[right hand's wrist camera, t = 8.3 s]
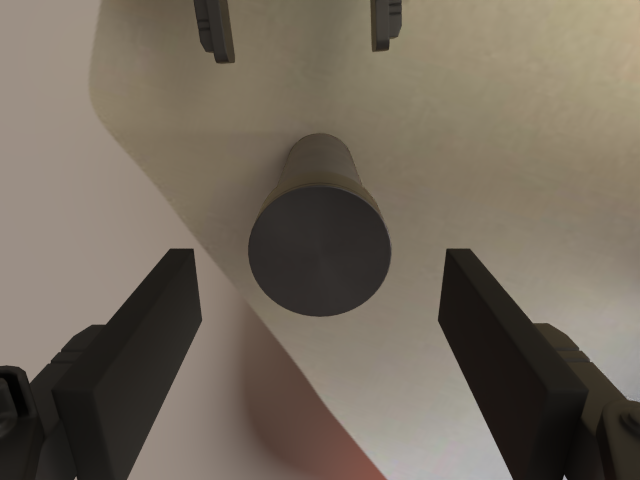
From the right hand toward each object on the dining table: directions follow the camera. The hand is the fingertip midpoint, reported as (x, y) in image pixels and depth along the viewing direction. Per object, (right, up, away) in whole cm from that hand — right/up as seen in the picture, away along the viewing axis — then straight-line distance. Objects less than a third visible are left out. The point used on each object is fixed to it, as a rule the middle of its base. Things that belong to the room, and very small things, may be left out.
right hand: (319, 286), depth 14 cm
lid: (0, +1, +3) cm, 3 cm away
